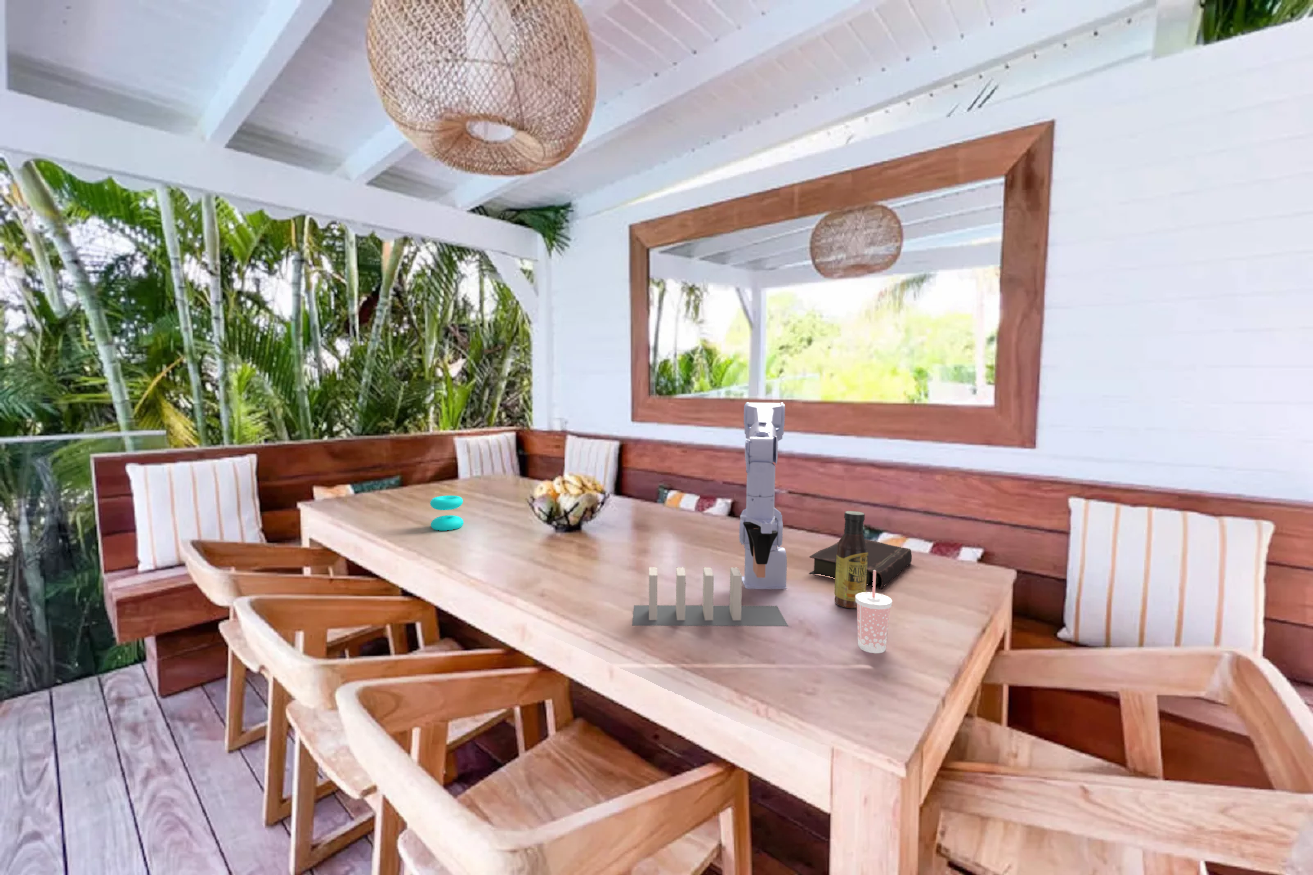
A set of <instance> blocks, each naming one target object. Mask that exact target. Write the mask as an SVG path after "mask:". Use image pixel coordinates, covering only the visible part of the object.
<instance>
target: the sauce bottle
mask: <svg viewBox="0 0 1313 875" xmlns="http://www.w3.org/2000/svg"><path fill="white" fill-rule="evenodd" d="M843 516H844V517H843V518H844V529H843V532H844V533H843V534H842V536H841V537H840V539H839V540H838V541H837V542H838V551H837V559H836V576H835V580H834V592H833V593H834V603H835V604H836V605H838V606H840V607H842V608H847V609H857V603H856V598H855V595H857V594H858V593H862V592H867V590H866V589H867V585H866V577H867V561H868V551H867V548H866V544H865V540H866V539H865V536H864V522H865V518H866V515H865V513H864V512H862V511H855V510H846V511H844V515H843ZM864 539H865V540H864Z"/></svg>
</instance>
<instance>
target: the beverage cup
mask: <svg viewBox="0 0 1313 875" xmlns="http://www.w3.org/2000/svg"><path fill="white" fill-rule="evenodd" d="M872 584H873V587H872V590H871V592H870V591H866V592H862V593H858V594H857V595H855V598H856V603H857V608H856V614H857V615H856V616H857V618H856V620H857V646H858V648H860V650H862V651H864V652H867V653H870V654H871V653H873V654H881V653H885V652H886V647H887V640H888V639H887V637H888V631H889V621H890V620H889V619H890V612H891V608H892V606H893V605H892V604H893V600H892V598H891V597H890V596H888V595H884V594H883V593H878V592H876V585H877V584H876V570H873V582H872Z"/></svg>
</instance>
